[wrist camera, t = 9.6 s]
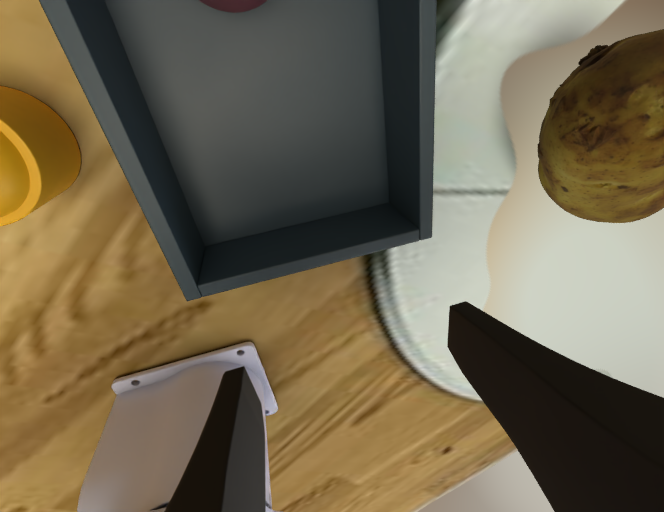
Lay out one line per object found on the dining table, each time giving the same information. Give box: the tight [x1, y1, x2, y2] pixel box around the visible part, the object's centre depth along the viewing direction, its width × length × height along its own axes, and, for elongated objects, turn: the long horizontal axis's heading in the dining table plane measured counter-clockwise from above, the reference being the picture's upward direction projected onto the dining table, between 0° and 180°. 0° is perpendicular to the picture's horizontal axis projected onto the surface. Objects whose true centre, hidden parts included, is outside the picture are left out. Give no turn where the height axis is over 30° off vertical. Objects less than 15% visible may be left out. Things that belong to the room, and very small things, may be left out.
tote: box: [39, 0, 436, 301], centre depth 13 cm, size 12×17×5 cm
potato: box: [538, 29, 664, 223], centre depth 18 cm, size 8×13×8 cm, turn 31°
